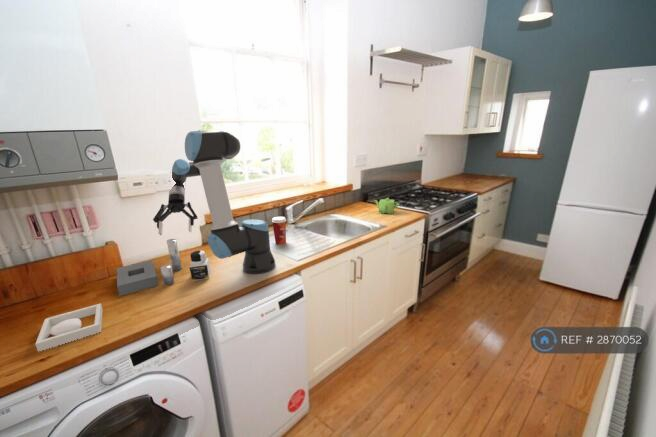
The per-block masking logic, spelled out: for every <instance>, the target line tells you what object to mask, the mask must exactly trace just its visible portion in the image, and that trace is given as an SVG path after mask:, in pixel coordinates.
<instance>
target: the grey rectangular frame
mask: <svg viewBox="0 0 656 437" xmlns="http://www.w3.org/2000/svg"><path fill="white" fill-rule="evenodd" d="M103 311H104V310H103V307H102V303H97V304H93V305H91V306H90V305H89V306H86V307H82V308H80V309H75V310H72V311H68V312H64V313H62V314H56V315H53V316H49V317H47V318H45V319H44V321H43V324H42V326H41V329H40V331H39V334H38V336H37V339H36V342H35V348H36V349H37V352H38V353H40V352H39V351H41V352H43V351H42V350H44V351H47V350H50V349H53V348H56V347H59V346H58V345H60V346H63V345H65V343H66V344H68V342H69V343H72V342H75V341H78V340H82V339H84V338H83V337H85V338H87V337H86V336H88V337H90V336H89V335H91V336H94V335H96V333H97V334H100V333H102V326H103V324H102V323H103V313H104V312H103ZM93 315H94V316H95V317H94V322H93V323H94V324H90V325H87V326H83V327H81V328H80V329H77V330H73V331H70V332H67V333H64V334H60V335H57V336H54V335H53V336H51V337H49V336H50V335H51V334H50V329H51V328H52V326H55V325H57V324H58V323H60V322H62V321H65V320H68V319H73V318H78V319H80V320H81V319H83V318H86V317H89V316H90V317H91V316H93ZM99 332H100V333H99ZM93 334H94V335H93ZM77 339H78V340H77ZM74 340H75V341H74ZM71 341H72V342H71ZM62 344H63V345H62ZM52 347H53V348H52ZM49 348H50V349H49ZM46 349H47V350H46Z"/></svg>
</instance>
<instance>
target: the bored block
mask: <svg viewBox="0 0 656 437" xmlns="http://www.w3.org/2000/svg"><path fill="white" fill-rule="evenodd" d="M116 286H117V292H118V295H119V296H120V297H121V296H124V295H128V294H132V293H135V292H139V291H143V290H146V289H150V288H155V287H157V286H159V281H158V277H157V273H156V269H155V266H154V262H153V259H151V260H148V261H144V262H143V261H142V262H139V263H138V262H137V263H135V264H129V265H126V266H121V267H117V268H116Z"/></svg>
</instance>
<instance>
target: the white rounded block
mask: <svg viewBox="0 0 656 437" xmlns="http://www.w3.org/2000/svg"><path fill="white" fill-rule="evenodd" d="M82 324H83V323H82V321H81V318H80V319H78V318H73V319H68V320H65V321H62V322H60V323H58V324H57V325H55V326H52V328H51V329H50V334H49V335H52V336H53V337H54V336H57V335H60V334H64V333H67V332H70V331H73V330H77V329H80V328H82Z"/></svg>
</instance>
